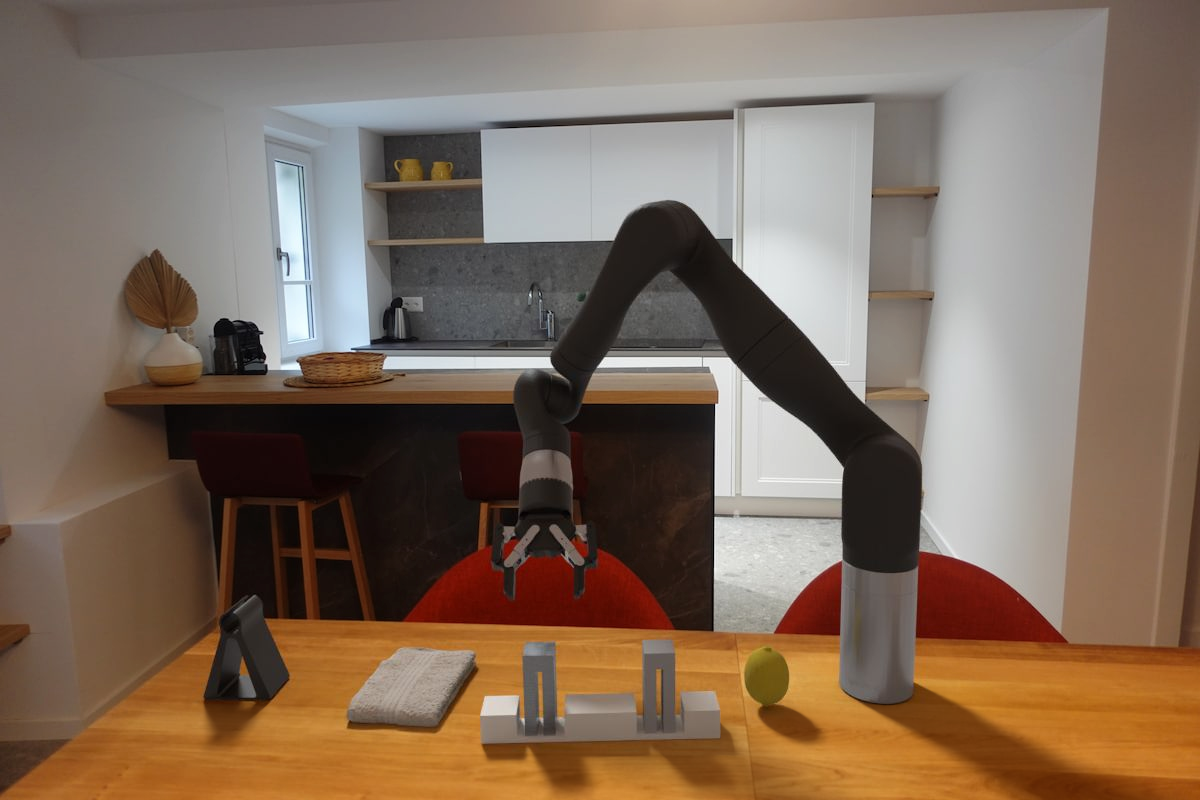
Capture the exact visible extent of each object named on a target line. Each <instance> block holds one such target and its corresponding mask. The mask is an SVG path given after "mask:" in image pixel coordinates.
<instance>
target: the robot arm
mask: <svg viewBox="0 0 1200 800" xmlns="http://www.w3.org/2000/svg"><path fill="white" fill-rule="evenodd" d="M700 217H701V216H700V215H698V214H697V212H695V210H694V209H692V207H690V206H689V205H687V204H686V203H683V202H680V201H678V200H675V199H674V200H672V199H666V200H659V201H658V200H657V201H653V202H647V203H642V204H640V205H638V206H636V207H634V208H633V209H632V210H630V212H629V213H627V215H625V218H624V219H623V221H622V223H621V225H620V226H619V229H618V231H617V233H616V235H615V237H614V240H613V241H612V244H611V246H610V249H609V252H608V254H607V256H606V258H605V261H604V263H603V265H602V267H601V269H600V271H599V273H598V275H597V276H596V279H595V280H594V283H593V285H592V287H591V288H590V290H589V291H588V294H587V296H586V297H585V299H584V301H583V302H582V303H581V306H580V308H579V309H578V311H577V312H576V313H575V315H574V316H573V318H572V320H571V321H570V322H569V324H568V325H567V326H566V328H565V329H564V331H563V332H562V334H561V336H560V337H559V338H558V340H557V342H556V343H555V345H554V346H553V348H552V350H551V352H550V356H549V360H550V365H552V367H553V369H554V370H555V372H557V373H558V374H559V375H560V376H558V375H556V374H553V373H551V372H547V371H544V370H542V369H536V368H530V369H526V370H524V371H523V372H522V373H521V374H520V375H519V376H518V378H517V379H516V381H515V384H514V388H513V392H512V393H513V396H512V400H513V405H514V406H513V407H514V410H515V414H516V418H517V421H518V425H519V429H520V433H521V436H522V440H523V441H522V463H521V469H520V474H519V494H518V496H519V497H518V520H517V523H516V525H514V526H505V525H504V524H503V523H502V522H498V523H495V525H494V531H493V538H492V546H491V554H490V563H491V567H492V570H493V571H496V572H497V571H501V572H502V573H503V579H502V580H503V583H502V584H503V586H502V589H503V594H504V595H505V597H507V598H508V601H515V598H516V579H517V578H516V571H517V570H518V568H519V567H520V566H521V565H523V564H524V563H525V562H527V560H528V558H530V557H533V558H534V559H540V558H544V557H547V558H551V559H552V558H554V559H555V558H557V557H559V556H560V555H561V556H562V557H563V559H564V560H565V562H567V563H568V564H569V565H571V566H572V568H573V599H574V600H580V596H581V595H584V593H585V591H586V590H585V589H586V588H585V585H586V584H585V583H586V582H585V581H586V580H585V573H586V571H588V570H589V569H597V568H598V566H599V554H598V542H597V533H596V531H597V530H596V524H595V521H593V520H590V521H587V522H586V523H585V524H580V525H578V524H577V525H576V524H575V522H574V520H573V516H574V515H573V513H574V512H573V511H574V510H573V509H574V508H573V502H574V501H573V499H574V498H573V492H574V491H573V490H574V484H573V471H572V464H571V463H572V461H571V459H572V458H571V457H572V456H571V455H572V454H571V453H572V452H571V451H572V450H571V446H572V445H571V442H572V440H571V434H570V432H569V429H568V428H567V427H566V426H565V425H564V424H567V423H569V422H571V421H573V420H574V419H575V418H576V417H577V416H578V414H579V412H580V411H581V410H580V409H581V407H582V404H583V400H584V398H585V394H586V392H587V388H588V386H589V383H590V381H591V378H592V376H593V375H594V373H595V371H596V370H597V368H598V367H599V366H600V364H601V363H602V361H603V360H604V359H605V357H606V356H607V355H608V353H609V352H610V350H611V348H612V347H613V345H614V344H615V343H616V340H617V339H618V336H619V335H620V332H621V329H622V326H623V323H624V320H625V317H626V316H627V313H628V312H629V309H630V308H631V305H632V304H633V303H634V302H635V301H636V299H637V297H638V296H639V295H640V294H641V292H643V290H644V289H645V288H646V287H647V286H648V285H649V284H650V283H651V282H652V281H653V280H654V279H655V278H656V277H657V276H659V274H660V273H663V272H664V273H665V272H668V271H669V272H670V273H671V274H672V275H674V276H675V277H676V278H677V279H678V280H679V281H680V282H681V283H682V284H683V285H684V286H685V287H686V288H687V289H688V290H689V291H690V292H691V293H692V294H693V296H694V297H696V299H697V300H698V301H699V303H701V305H702V307H703V308H704V311H705V312H706V314H707V317H708V318H709V320H710V323H711V326H712V327H713V330H714V332H715V333H714V334H715V335H716V336H717V337H716V338H718V339H717V340H718V342H719V344H720V345H721V346H722V348H723V351H724V353H726V355H727V356H728V358H729V359H730V360H731V361H732V363H733V364H734V365H735V366H736V367H737V368H738V369H739V370H740V372H742V374H743V375H744V376H745V377H746V378H747V379H748V380H749V381H750V382H751V383H752V385H754V387H755V388H756V389H758V390H759V391H760V392H761V393H762V394H763V395H764V396H765V397H767V399H769V400H770V401H772V402H773V403H774V404H776V405H777V406H778V407H780V408H781V409H783V410H784V411H786V412H787V413H788V414H790V415H792V416H793V417H794V418H795V419H797V420H799V421H800V422H801V423H803V424H804V425H806V427H807V428H809V429H810V430H812V432H813V433H814V434H815V435H816V436H817V437H818V438H819V439H820V440H821V441H822V443H824V445H825V446H826V447H827V448H828V449H829V451H830V452H831V453H832V454H833V456H834V457H835V459H837V461H838V462H839V464H840V465H841V466H842V468H843V471H842V481H841V482H842V483H841V528H840V529H841V530H840V531H841V532H840V537H841V543H842V546H841V547H842V554H841V555H842V556H841V557H842V558H841V563H842V564H841V593H840V594H841V596H840V597H841V599H840V601H841V602H840V631H839V632H840V633H839V634H840V635H839V663H838V664H839V668H838V670H839V671H838V682H839V683H838V684H839V686H840V688H841V689H842V690H843V691H844V692H845V693H847V694H848V695H850V696H852V697H853V698H856V699H858V700H860V701H865V702H868V703H873V704H882V705H883V704H884V705H885V704H886V705H889V704H890V705H893V704H898V703H902V702H905V701H907V700H908V699H910V698H912V695H913V693H914V682H915V681H914V680H915V679H914V678H915V661H916V657H915V654H916V653H915V652H916V634H917V632H916V631H917V607H918V605H917V604H918V584H919V583H918V581H919V579H918V577H919V562H920V561H919V559H920V558H919V557H920V546H921V543H920V542H921V520H922V519H921V518H922V517H921V516H922V497H923V496H922V494H923V464H922V461H921V457H920V454H919V453H918V451H917V450H916V448H915V446H913V445H912V443H910V441H908V439H907V438H905V437H904V436H903V435H902V434H900V433H899V432H898V431H897V430H895V429H894V428H893V427H892V426H890V425H889V424H888V423H887V422H886V421H884V420H883V419H882V418H881V417H880V416H879V415H878V414H877V413H876V412H874V411H873V410H872V409H871V408H870V407H869V406H868V405H867V404H865V403H864V402H863V401H862V400H861V399H860V398H859V397H858V396H857V395H856V394H855V393H854V392H853V390H852V389H851V388H850V387H849V386H848V384H847V383H846V382H845V381H844V379H843V378H842V377H841V376H840V374H839V373H838V372H837V370H836V369H835V367H834V366H833V365H832V364H831V362H829V360H827V358H826V357H825V356H824V355H823V353H822V352H821V351H820V350H819V349H818V348H817V347H816V345H815V344H814V343H813V342H812V341H811V339H810V338H808V336H807V335H806V334H805V333H804V332H803V331H802V329H800V327H799V326H798V325H797V324H796V323H795V322H794V321H793V320H792V319H791V318H789V316H788V315H787V314H786V312H784V311H783V310H782V309H781V308H780V307H779V306H777V304H776V303H774V301H773V300H772V299H771V298H770V297H769V296H768V295H767V294H766V293H765V292H764V291H763V289H762V288H761V287H760V286H759V285H757V284H756V283H755V281H754V280H753V279H752V278H750V277H749V276H748V275H747V273H746V272H745V271H743V269H741V267H739V266H738V264H737V263H736V262H734V260H733V259H732V258H731V256H730V255H729V254H728V252H726V250H725V249H724V247H723V246H722V245H721V244H720V242H719V241H718V239H716V237H715V236H714V235H713V233H712V231H710V229H709V227H708V226H707V225H706V224H705V223H704V221H703V220H702V218H700ZM561 376H562V377H561ZM563 377H564V378H563ZM576 535H578V536H580V539H581V541H582V542H586V543H587V545H586V546H587V556H584V557H582V555H581V554H580V552H578V550H577V549H576V547H575V545H574V544H573V543H572V541H573V540H574V538H576ZM513 537H515V539H516V540H517V541H518V543H517V544H516V545H515V546H514V547H513V549H512V552H511V553H510V554H509V555H507V558H503V556H504V547H505V544H507V543H509V542H510V540H511V538H513Z"/></svg>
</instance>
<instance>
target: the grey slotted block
mask: <svg viewBox="0 0 1200 800" xmlns="http://www.w3.org/2000/svg"><path fill="white" fill-rule="evenodd" d="M556 647H557V646H556V641H525V643H524V646H523V650H522V651H523V652H522V655H521V658H522V681H523V683H522V684H523V686H522V687H523V713H524V714H523V715H524V717H523V718H524V719H525V736H537V732H538V726H539V718H540V696H539V695H540V694H539V692H540V689H539V673H541V683H542V684H541V687H542V691H541V692H542V693H541V694H542V718H543V727H544V736H556V728H557V717H558V692H557V690H558V687H557V655H556V653H557V652H556V651H557V649H556Z"/></svg>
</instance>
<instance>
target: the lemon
mask: <svg viewBox="0 0 1200 800" xmlns="http://www.w3.org/2000/svg"><path fill="white" fill-rule="evenodd" d="M743 678H744V679H743V680H744V686H745V689H746V691H747V693H748V694H749V696H750V697H751V698H752V699H753V701H755V702H757V703H758V704H761V705H762V706H763V707H764V708H768V707H770V706H771V705H775V704H777V703H778V702H780V701H781V700H783V698H784V697H785V696H786V694H787V693H788V689H789V684H790V671H789V667H788V663H787V660H786V659H785V657H784V656H783V654H782V653H781V652H780V651H779V650H777V649H775V648H773V647H771V646H769V645H764V646H763V647H759V648H756V649H755V650H754V651H752V652H751V653H750V654H749V655H748V657H747V659H746V663H745V665H744V671H743Z"/></svg>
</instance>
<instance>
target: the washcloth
mask: <svg viewBox="0 0 1200 800" xmlns="http://www.w3.org/2000/svg"><path fill="white" fill-rule="evenodd" d="M476 656H477V653H476V652H475V651H473V650H470V649H465V650H464V649H461V650H460V649H459V650H439V649H435V648H428V647H409V646H405V647H401V648H398V649H397V650H396V651H395V652H394V653H393V654H391V656H390V657H389V658H388V659H384V660H382V661H381V662H380V664H379V666H378V667H377V669H376V670H375V672H373V673H372V674H371V675H370V676H369V677H368V678H367V679H366V681H365V682H364V684H363V685H362V687H361V688H360V689H359V690H358V692H356V693H355V694H354V696H353V697H352V698H351V700H350V703H349V705H348V707H347V711H346V719H347V721H350V722H352V723H356V724H357V723H362V724H371V725H372V724H373V725H374V724H390V725H398V726H408V727H417V728H418V727H420V728H421V727H425V728H432V727H433V728H434V727H436V726H438V725H439V722H440V721H441V720H442V718H443V717H444V716H445V715H446V711H447V710H448V707H449V706H450V705H451V704H452V702H453V701H454V699H455V698H456V697H457V695H458V692H460V688H461V687H462V686H463V684H464V683H465V681H466V679H467V677H468V676H469V675H470V673H471V672H472V671H473V670H474V668H475V667H476V665H477V662H476V660H475V659H476ZM471 670H472V671H471Z"/></svg>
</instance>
